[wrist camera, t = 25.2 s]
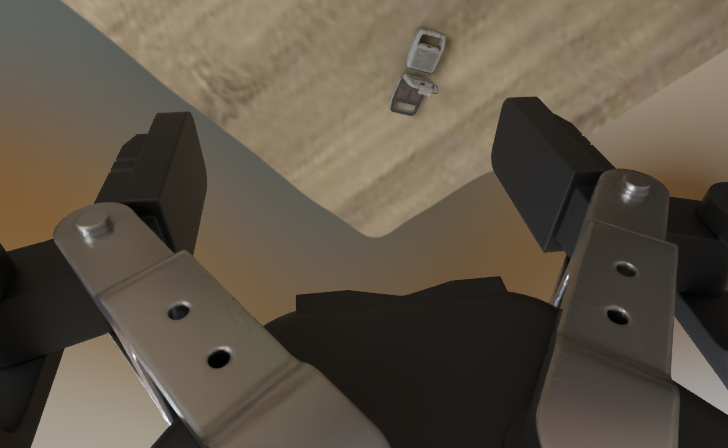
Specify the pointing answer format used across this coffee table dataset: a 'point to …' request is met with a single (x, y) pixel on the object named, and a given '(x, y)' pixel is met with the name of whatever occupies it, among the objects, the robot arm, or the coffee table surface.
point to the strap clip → (420, 61)
